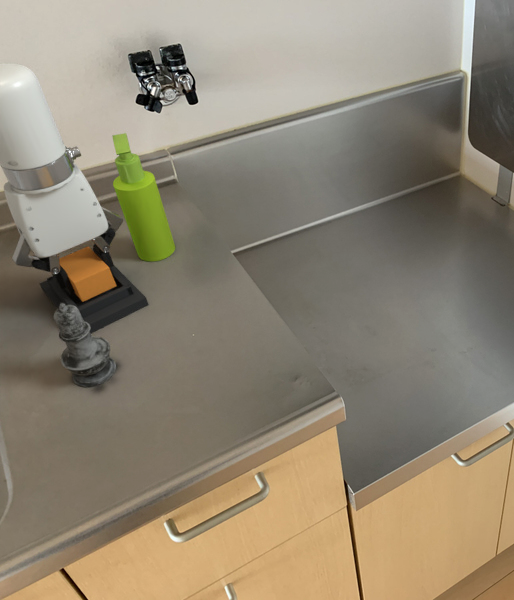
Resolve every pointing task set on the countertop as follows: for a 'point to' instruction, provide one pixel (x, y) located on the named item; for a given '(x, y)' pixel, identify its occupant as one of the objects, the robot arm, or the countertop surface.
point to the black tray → (100, 301)
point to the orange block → (87, 273)
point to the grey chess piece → (83, 349)
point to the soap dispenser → (141, 204)
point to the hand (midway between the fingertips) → (88, 279)
